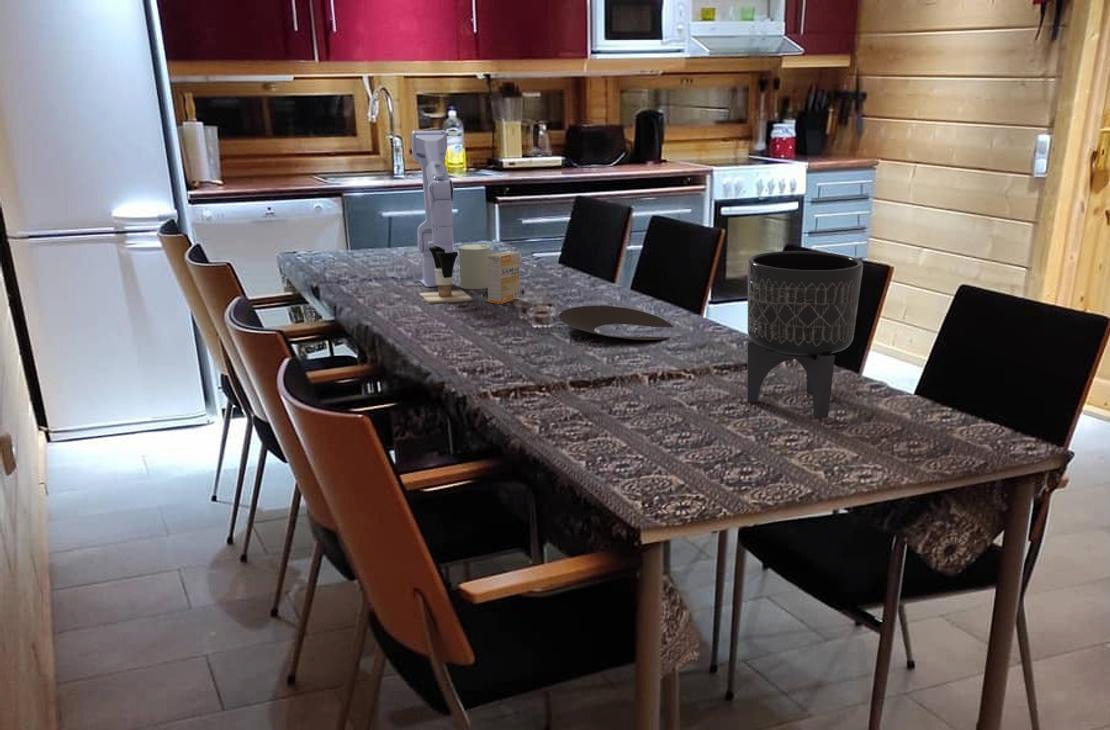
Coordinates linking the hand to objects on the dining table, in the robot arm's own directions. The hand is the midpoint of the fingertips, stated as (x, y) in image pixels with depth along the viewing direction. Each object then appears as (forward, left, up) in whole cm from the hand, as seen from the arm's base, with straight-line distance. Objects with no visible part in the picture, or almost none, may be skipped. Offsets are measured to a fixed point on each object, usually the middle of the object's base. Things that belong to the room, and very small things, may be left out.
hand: (444, 274), depth 258 cm
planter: (+111, +39, -7) cm, 118 cm away
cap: (0, 0, -2) cm, 2 cm away
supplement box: (+10, +14, -7) cm, 18 cm away
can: (-12, +12, -7) cm, 18 cm away
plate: (+50, +30, -7) cm, 59 cm away
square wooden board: (0, 0, -6) cm, 6 cm away
